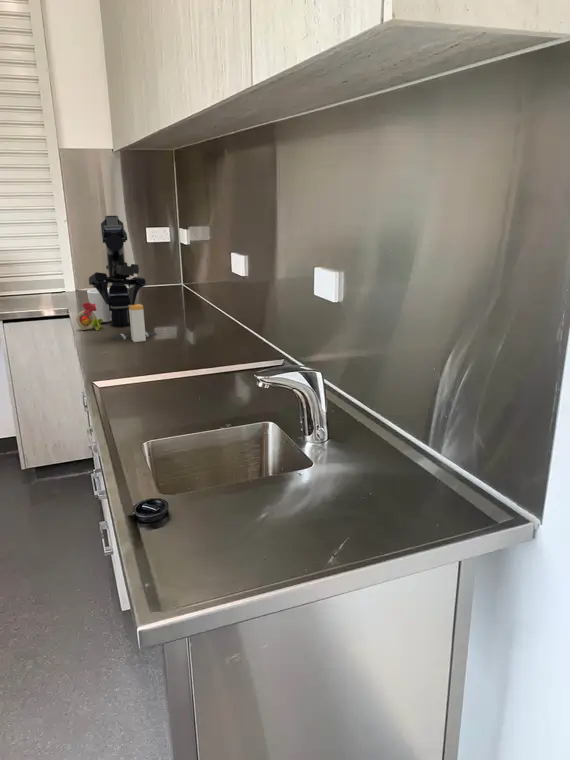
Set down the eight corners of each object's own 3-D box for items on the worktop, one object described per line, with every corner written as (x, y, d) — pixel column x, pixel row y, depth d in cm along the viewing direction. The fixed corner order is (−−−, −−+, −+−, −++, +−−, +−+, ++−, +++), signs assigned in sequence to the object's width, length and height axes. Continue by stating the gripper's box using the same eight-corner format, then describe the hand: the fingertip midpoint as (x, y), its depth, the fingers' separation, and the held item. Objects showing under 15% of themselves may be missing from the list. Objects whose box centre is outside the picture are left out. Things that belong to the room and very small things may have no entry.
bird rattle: (84, 338, 220) (106, 326, 221) (68, 311, 216) (91, 300, 217) (85, 334, 226) (106, 323, 227) (69, 308, 222) (91, 297, 223)
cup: (119, 319, 240) (116, 288, 236) (110, 325, 231) (107, 292, 227) (96, 319, 241) (92, 288, 237) (86, 324, 232) (82, 292, 228)
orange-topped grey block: (131, 339, 207) (128, 304, 203) (143, 338, 208) (140, 303, 205) (134, 342, 203) (131, 307, 200) (145, 340, 205) (143, 306, 201)
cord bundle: (116, 341, 206) (115, 337, 206) (113, 338, 211) (113, 334, 210) (157, 337, 213) (157, 333, 212) (154, 334, 217) (153, 330, 217)
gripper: (100, 250, 192) (105, 296, 190) (151, 257, 205) (156, 301, 203) (86, 261, 200) (90, 305, 198) (136, 267, 213) (140, 309, 211)
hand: (120, 305), depth 202 cm, fingers open, 9 cm apart
